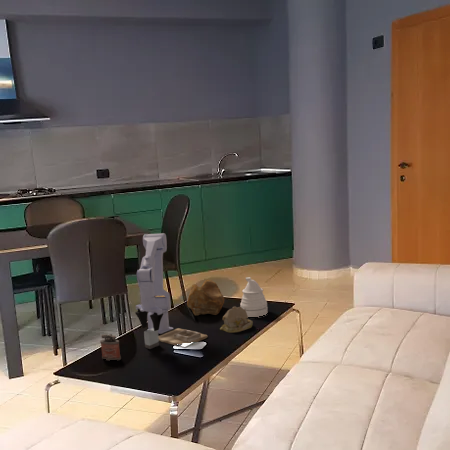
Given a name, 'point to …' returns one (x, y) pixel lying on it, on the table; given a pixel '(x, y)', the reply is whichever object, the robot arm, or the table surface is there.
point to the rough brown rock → (205, 298)
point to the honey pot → (253, 299)
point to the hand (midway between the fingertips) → (150, 328)
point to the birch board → (181, 336)
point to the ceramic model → (236, 320)
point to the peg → (151, 338)
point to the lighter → (110, 347)
